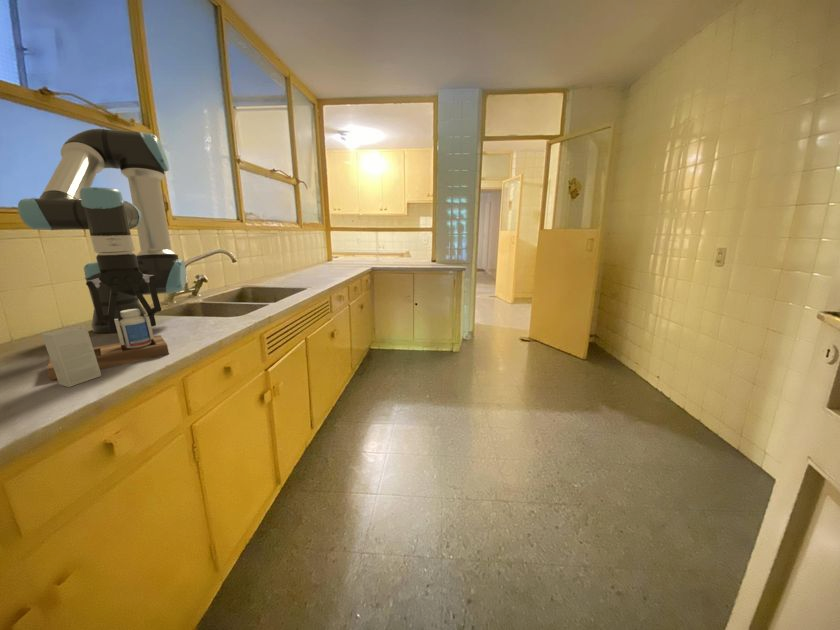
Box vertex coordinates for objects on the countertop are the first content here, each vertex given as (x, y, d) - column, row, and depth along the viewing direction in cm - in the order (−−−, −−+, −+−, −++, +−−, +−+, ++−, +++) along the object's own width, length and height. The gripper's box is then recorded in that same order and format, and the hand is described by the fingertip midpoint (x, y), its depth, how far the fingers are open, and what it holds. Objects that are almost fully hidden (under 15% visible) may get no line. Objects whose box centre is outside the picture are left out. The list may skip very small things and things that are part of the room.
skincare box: (92, 373, 79) (77, 325, 76) (102, 376, 77) (88, 327, 74) (57, 384, 73) (40, 333, 70) (67, 388, 72) (50, 335, 69)
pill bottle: (156, 342, 92) (148, 308, 89) (138, 349, 87) (129, 313, 84) (138, 341, 92) (130, 307, 90) (119, 348, 87) (110, 312, 85)
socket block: (54, 366, 83) (50, 355, 82) (162, 344, 98) (160, 335, 97) (50, 380, 75) (47, 368, 75) (169, 353, 90) (166, 344, 90)
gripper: (62, 256, 74) (90, 353, 80) (163, 251, 87) (181, 336, 93) (63, 255, 80) (89, 346, 86) (159, 250, 92) (176, 330, 98)
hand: (137, 340), depth 89 cm, fingers closed on pill bottle, 5 cm apart
